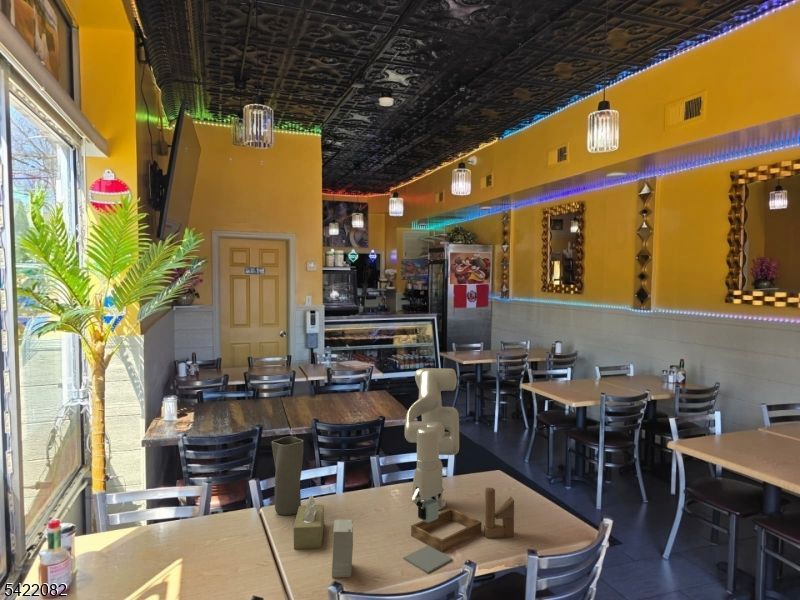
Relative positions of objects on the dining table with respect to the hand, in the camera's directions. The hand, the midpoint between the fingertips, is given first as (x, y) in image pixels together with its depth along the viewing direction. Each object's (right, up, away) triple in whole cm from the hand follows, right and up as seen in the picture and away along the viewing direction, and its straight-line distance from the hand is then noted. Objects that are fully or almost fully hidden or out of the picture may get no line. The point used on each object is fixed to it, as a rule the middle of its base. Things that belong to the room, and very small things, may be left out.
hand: (427, 515), depth 176 cm
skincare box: (-29, -16, -6) cm, 34 cm away
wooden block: (+28, -15, +17) cm, 36 cm away
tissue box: (-44, -16, +17) cm, 50 cm away
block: (0, -1, 0) cm, 1 cm away
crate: (+8, -15, +18) cm, 25 cm away
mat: (0, -16, 0) cm, 16 cm away
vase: (-57, -15, +38) cm, 70 cm away
